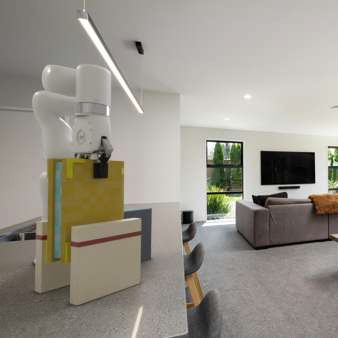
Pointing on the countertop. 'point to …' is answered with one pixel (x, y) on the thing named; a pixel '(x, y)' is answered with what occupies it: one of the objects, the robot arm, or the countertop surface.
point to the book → (79, 201)
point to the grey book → (143, 229)
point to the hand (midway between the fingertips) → (91, 177)
